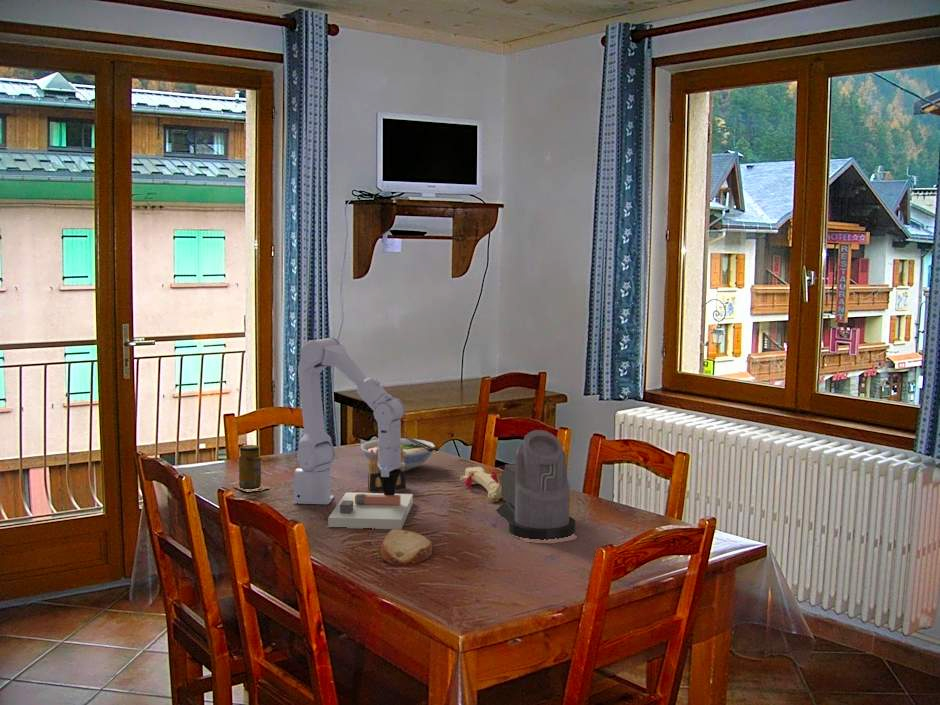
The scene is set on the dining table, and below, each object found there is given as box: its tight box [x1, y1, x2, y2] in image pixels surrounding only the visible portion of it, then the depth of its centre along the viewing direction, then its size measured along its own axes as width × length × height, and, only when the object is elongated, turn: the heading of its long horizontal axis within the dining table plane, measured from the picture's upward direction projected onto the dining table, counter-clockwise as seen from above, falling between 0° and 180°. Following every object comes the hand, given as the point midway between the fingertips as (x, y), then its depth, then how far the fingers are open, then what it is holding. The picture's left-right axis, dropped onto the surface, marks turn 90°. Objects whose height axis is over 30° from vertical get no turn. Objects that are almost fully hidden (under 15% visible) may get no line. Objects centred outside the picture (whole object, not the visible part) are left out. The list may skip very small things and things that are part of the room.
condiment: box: [238, 444, 262, 489], centre depth 282 cm, size 7×8×12 cm
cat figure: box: [459, 466, 507, 504], centre depth 282 cm, size 10×9×25 cm
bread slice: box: [379, 529, 433, 567], centre depth 229 cm, size 18×18×4 cm
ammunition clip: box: [367, 446, 406, 492], centre depth 283 cm, size 11×2×12 cm, turn 114°
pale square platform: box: [327, 492, 414, 530], centre depth 257 cm, size 18×24×5 cm
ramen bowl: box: [360, 435, 439, 472], centre depth 307 cm, size 25×23×8 cm
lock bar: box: [355, 494, 401, 505], centre depth 258 cm, size 12×3×2 cm, turn 87°
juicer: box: [495, 429, 576, 540], centre depth 248 cm, size 30×16×24 cm, turn 15°
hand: (389, 497), depth 260 cm, fingers closed
